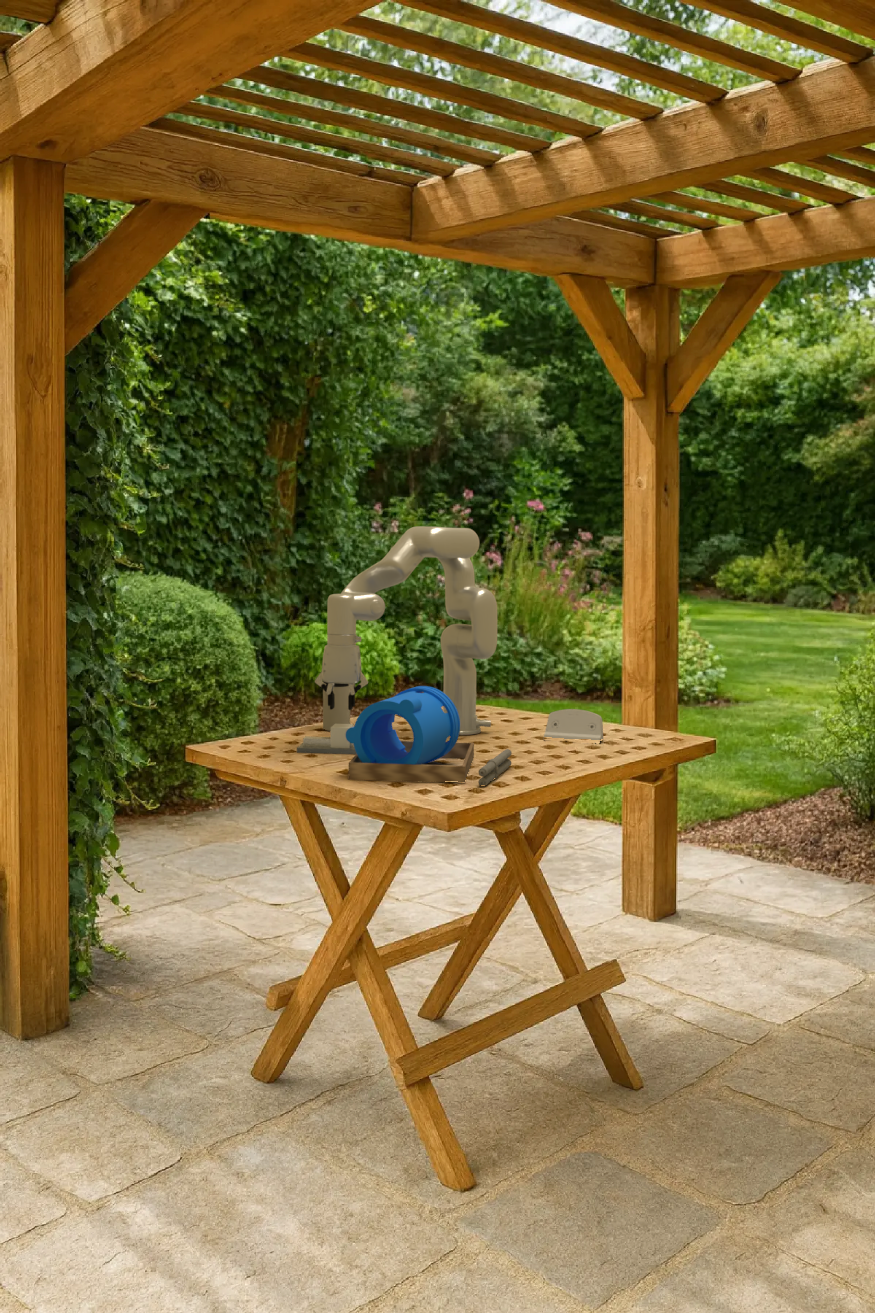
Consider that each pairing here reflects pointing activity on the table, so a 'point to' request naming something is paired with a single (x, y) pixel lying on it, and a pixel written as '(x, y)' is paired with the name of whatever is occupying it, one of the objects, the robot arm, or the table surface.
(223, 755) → the table surface
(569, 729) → the grey mounting bracket
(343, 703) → the travel mug
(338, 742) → the block
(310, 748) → the rail board
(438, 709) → the tube
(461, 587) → the robot arm
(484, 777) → the metal rod assembly
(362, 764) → the brown wooden tray
